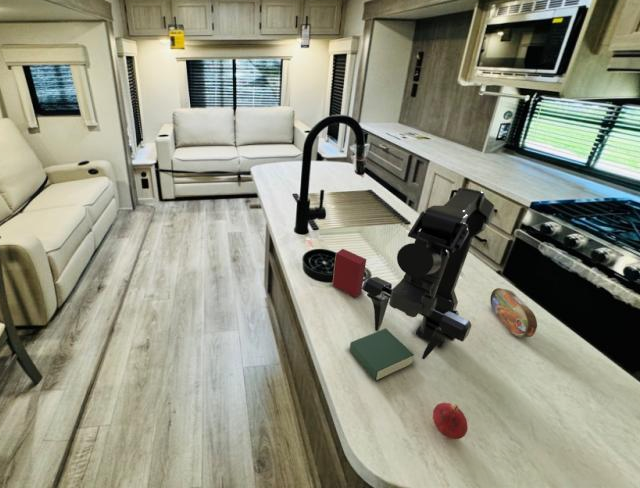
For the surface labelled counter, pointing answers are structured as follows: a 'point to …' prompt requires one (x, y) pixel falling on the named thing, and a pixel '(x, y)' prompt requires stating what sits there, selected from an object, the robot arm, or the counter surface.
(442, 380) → the counter surface
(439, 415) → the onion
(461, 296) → the counter surface
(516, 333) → the tin
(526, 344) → the counter surface
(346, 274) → the paperback
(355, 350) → the hardcover
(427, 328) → the robot arm
